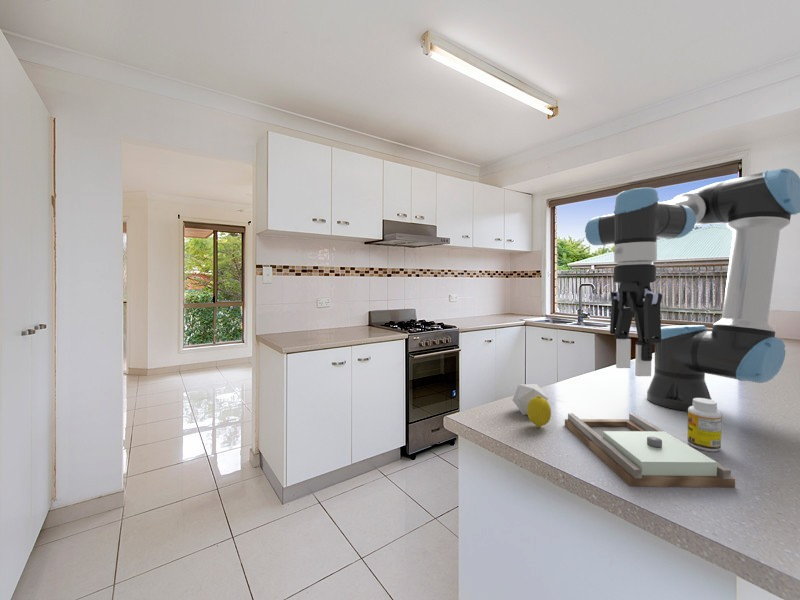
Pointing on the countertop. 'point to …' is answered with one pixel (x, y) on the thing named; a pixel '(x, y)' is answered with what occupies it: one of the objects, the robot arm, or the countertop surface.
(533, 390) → the die
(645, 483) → the wooden sliding lid box
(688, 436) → the supplement bottle
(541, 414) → the lemon
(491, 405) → the countertop surface
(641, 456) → the slide cover
